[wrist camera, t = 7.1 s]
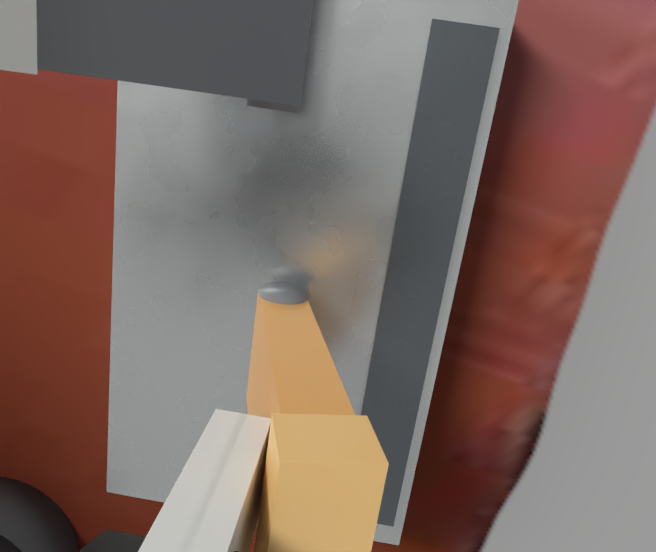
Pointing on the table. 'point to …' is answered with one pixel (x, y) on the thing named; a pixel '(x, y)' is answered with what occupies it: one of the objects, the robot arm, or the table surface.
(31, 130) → the table surface
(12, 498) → the grey stacked discs
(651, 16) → the table surface
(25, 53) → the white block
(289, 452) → the paddle orange
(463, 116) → the panel
